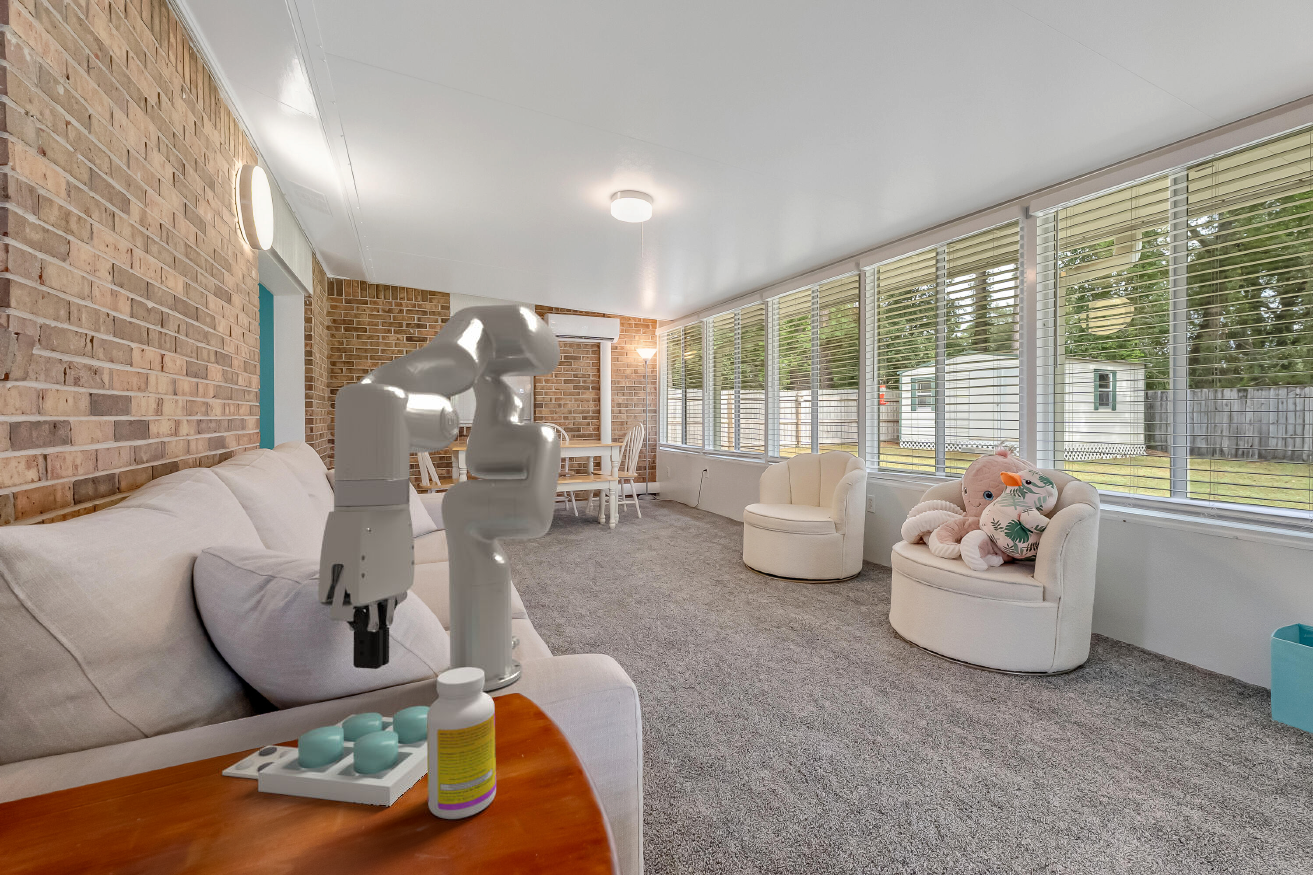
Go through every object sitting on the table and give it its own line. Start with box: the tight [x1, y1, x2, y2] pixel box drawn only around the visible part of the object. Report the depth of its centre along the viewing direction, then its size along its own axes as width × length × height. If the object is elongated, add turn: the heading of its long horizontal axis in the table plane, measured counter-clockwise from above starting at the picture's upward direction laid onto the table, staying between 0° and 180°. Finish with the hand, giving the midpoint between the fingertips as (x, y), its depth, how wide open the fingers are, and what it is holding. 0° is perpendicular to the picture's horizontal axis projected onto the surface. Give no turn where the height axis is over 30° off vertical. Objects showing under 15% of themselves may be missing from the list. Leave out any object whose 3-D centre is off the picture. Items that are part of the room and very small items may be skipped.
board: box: [257, 714, 428, 807], centre depth 67 cm, size 14×16×2 cm
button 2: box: [342, 712, 383, 742], centre depth 71 cm, size 4×4×2 cm
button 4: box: [392, 705, 430, 744], centre depth 70 cm, size 4×4×2 cm
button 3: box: [353, 731, 398, 774], centre depth 64 cm, size 4×4×2 cm
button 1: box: [297, 725, 344, 768], centre depth 65 cm, size 4×4×2 cm
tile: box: [221, 744, 298, 780], centre depth 68 cm, size 6×6×1 cm
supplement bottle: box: [427, 667, 497, 820], centre depth 60 cm, size 7×7×13 cm
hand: (371, 665), depth 63 cm, fingers closed
